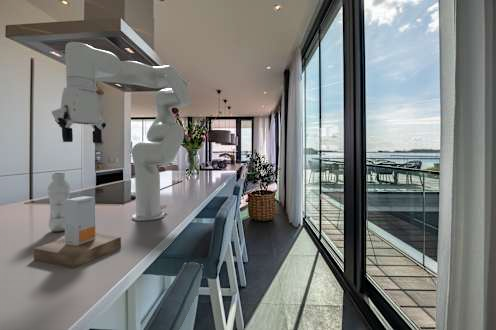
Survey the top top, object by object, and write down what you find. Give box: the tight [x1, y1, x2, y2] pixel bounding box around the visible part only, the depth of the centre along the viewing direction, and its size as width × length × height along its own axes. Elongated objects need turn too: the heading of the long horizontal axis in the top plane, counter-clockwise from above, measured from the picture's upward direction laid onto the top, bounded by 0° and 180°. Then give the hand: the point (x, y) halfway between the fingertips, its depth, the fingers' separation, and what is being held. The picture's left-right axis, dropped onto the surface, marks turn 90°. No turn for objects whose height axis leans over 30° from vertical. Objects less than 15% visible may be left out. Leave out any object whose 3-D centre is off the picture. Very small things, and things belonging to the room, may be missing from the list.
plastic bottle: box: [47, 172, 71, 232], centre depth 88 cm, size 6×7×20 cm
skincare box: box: [64, 195, 97, 246], centre depth 69 cm, size 6×4×12 cm
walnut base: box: [33, 233, 122, 269], centre depth 69 cm, size 14×14×3 cm
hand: (83, 142), depth 79 cm, fingers open, 9 cm apart
